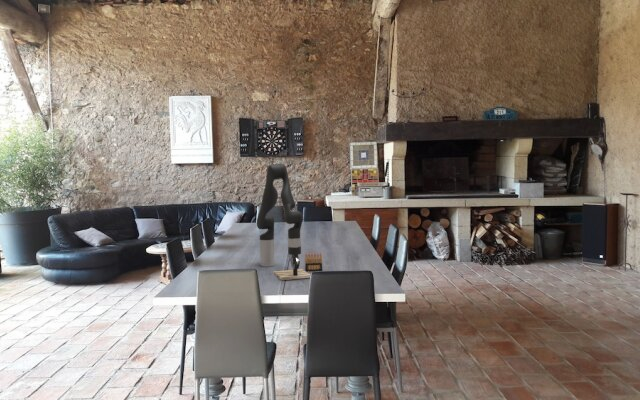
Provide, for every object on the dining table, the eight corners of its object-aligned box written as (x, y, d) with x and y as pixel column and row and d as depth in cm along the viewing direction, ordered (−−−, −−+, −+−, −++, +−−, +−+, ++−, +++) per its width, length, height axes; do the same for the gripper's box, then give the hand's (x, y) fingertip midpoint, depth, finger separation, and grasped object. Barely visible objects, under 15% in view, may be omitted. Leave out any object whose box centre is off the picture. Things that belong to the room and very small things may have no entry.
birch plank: (277, 277, 297) (277, 274, 297) (306, 274, 302) (306, 272, 302) (281, 280, 287) (281, 277, 287) (311, 277, 293) (311, 274, 293)
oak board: (273, 273, 306) (273, 271, 306) (302, 271, 312) (302, 269, 311) (277, 277, 297) (277, 274, 297) (306, 274, 303) (306, 272, 303)
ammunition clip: (305, 271, 311) (304, 252, 310) (305, 271, 313) (304, 251, 312) (322, 271, 312) (322, 251, 311) (322, 270, 313) (322, 251, 312)
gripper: (285, 244, 297) (286, 274, 298) (291, 247, 284) (292, 278, 285) (297, 244, 299) (298, 272, 300) (303, 246, 287) (304, 277, 288)
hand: (295, 275), depth 293 cm, fingers closed
